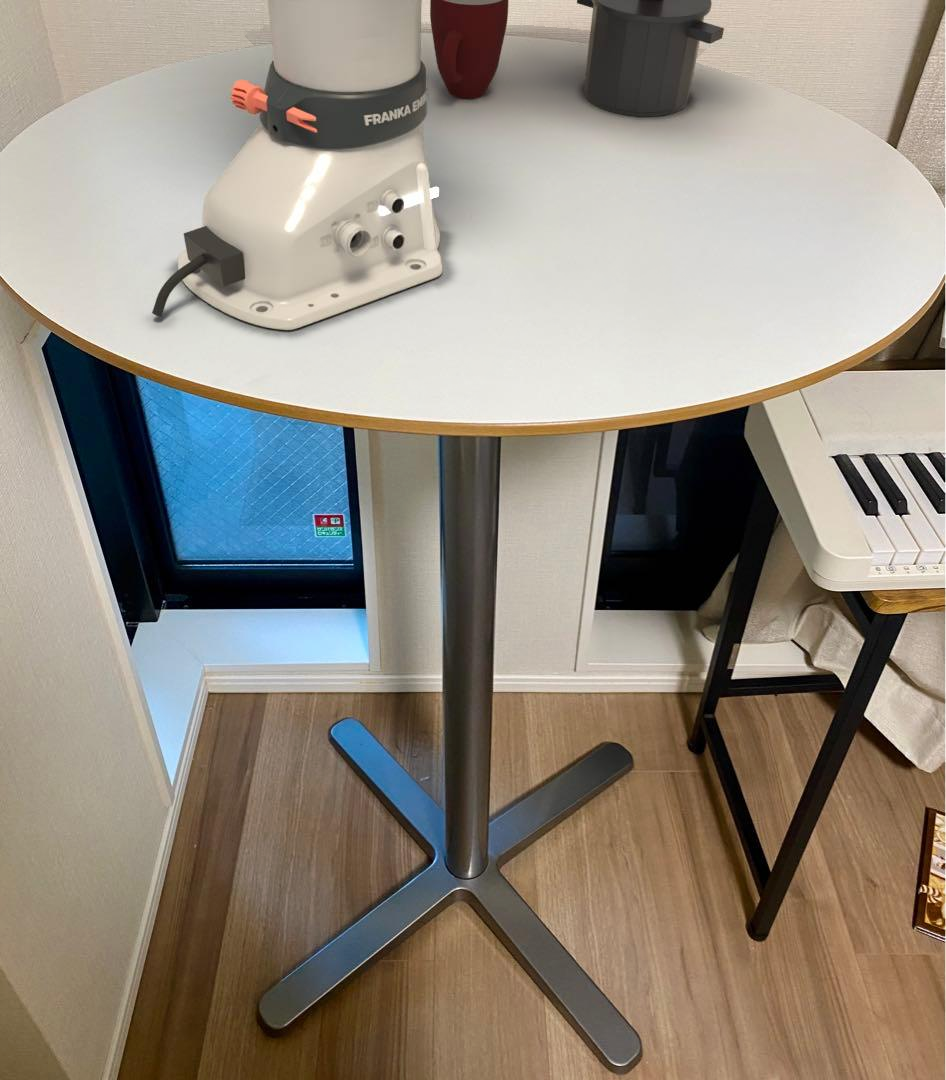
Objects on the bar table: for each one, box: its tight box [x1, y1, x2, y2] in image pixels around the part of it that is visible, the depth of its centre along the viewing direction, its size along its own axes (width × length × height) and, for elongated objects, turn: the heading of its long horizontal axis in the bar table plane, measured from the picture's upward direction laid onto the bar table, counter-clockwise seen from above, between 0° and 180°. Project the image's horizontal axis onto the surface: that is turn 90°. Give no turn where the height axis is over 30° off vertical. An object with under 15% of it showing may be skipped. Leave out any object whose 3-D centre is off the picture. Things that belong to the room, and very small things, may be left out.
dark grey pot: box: [576, 0, 725, 118], centre depth 106 cm, size 11×17×9 cm
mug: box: [429, 0, 509, 100], centre depth 104 cm, size 11×8×10 cm
